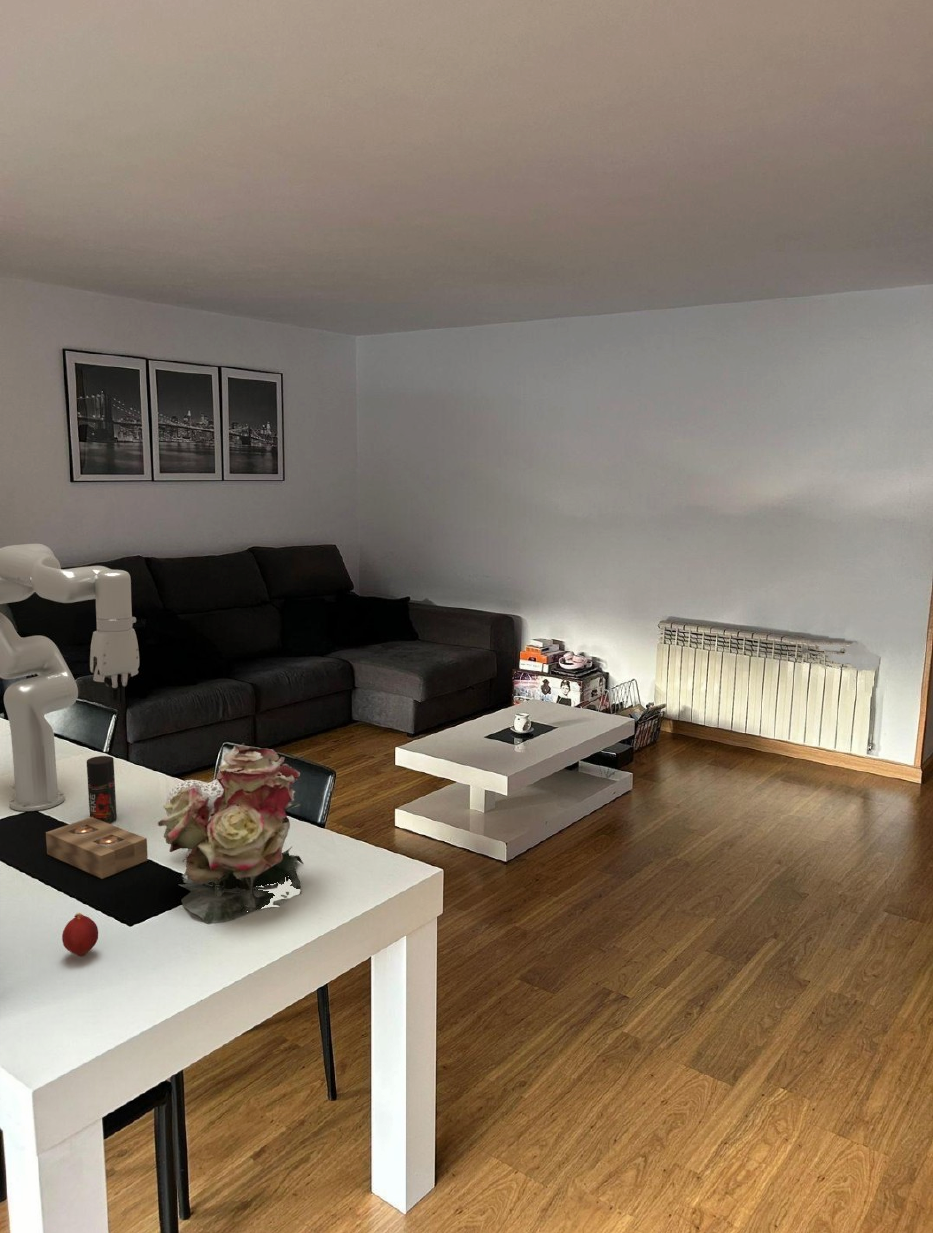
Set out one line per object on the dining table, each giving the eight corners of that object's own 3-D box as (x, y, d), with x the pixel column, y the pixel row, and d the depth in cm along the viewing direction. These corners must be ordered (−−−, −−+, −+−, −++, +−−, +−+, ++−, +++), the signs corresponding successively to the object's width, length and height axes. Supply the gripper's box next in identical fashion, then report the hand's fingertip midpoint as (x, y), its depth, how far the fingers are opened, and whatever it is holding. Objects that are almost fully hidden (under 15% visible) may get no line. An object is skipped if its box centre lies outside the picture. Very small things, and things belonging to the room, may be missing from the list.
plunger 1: (72, 850, 201) (71, 830, 200) (87, 845, 204) (86, 824, 203) (82, 855, 199) (80, 834, 198) (97, 849, 202) (95, 828, 201)
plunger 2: (97, 861, 196) (95, 840, 195) (111, 855, 199) (110, 834, 198) (107, 865, 194) (106, 844, 193) (122, 859, 197) (121, 838, 196)
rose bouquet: (157, 877, 190) (150, 738, 185) (296, 855, 202) (294, 723, 197) (171, 936, 167) (164, 779, 162) (327, 907, 179) (325, 759, 174)
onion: (70, 946, 163) (67, 904, 162) (103, 945, 164) (101, 903, 162) (58, 964, 157) (55, 921, 156) (93, 963, 158) (90, 920, 156)
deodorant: (121, 816, 222) (118, 756, 219) (109, 825, 216) (106, 764, 213) (97, 814, 222) (94, 755, 220) (85, 824, 217) (81, 763, 214)
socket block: (47, 854, 200) (45, 832, 199) (92, 837, 209) (91, 816, 208) (102, 878, 189) (100, 855, 188) (147, 860, 198) (146, 838, 197)
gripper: (134, 618, 216) (136, 693, 220) (74, 626, 205) (77, 706, 208) (153, 622, 212) (155, 699, 215) (93, 631, 200) (96, 712, 204)
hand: (117, 702), depth 212 cm, fingers closed
